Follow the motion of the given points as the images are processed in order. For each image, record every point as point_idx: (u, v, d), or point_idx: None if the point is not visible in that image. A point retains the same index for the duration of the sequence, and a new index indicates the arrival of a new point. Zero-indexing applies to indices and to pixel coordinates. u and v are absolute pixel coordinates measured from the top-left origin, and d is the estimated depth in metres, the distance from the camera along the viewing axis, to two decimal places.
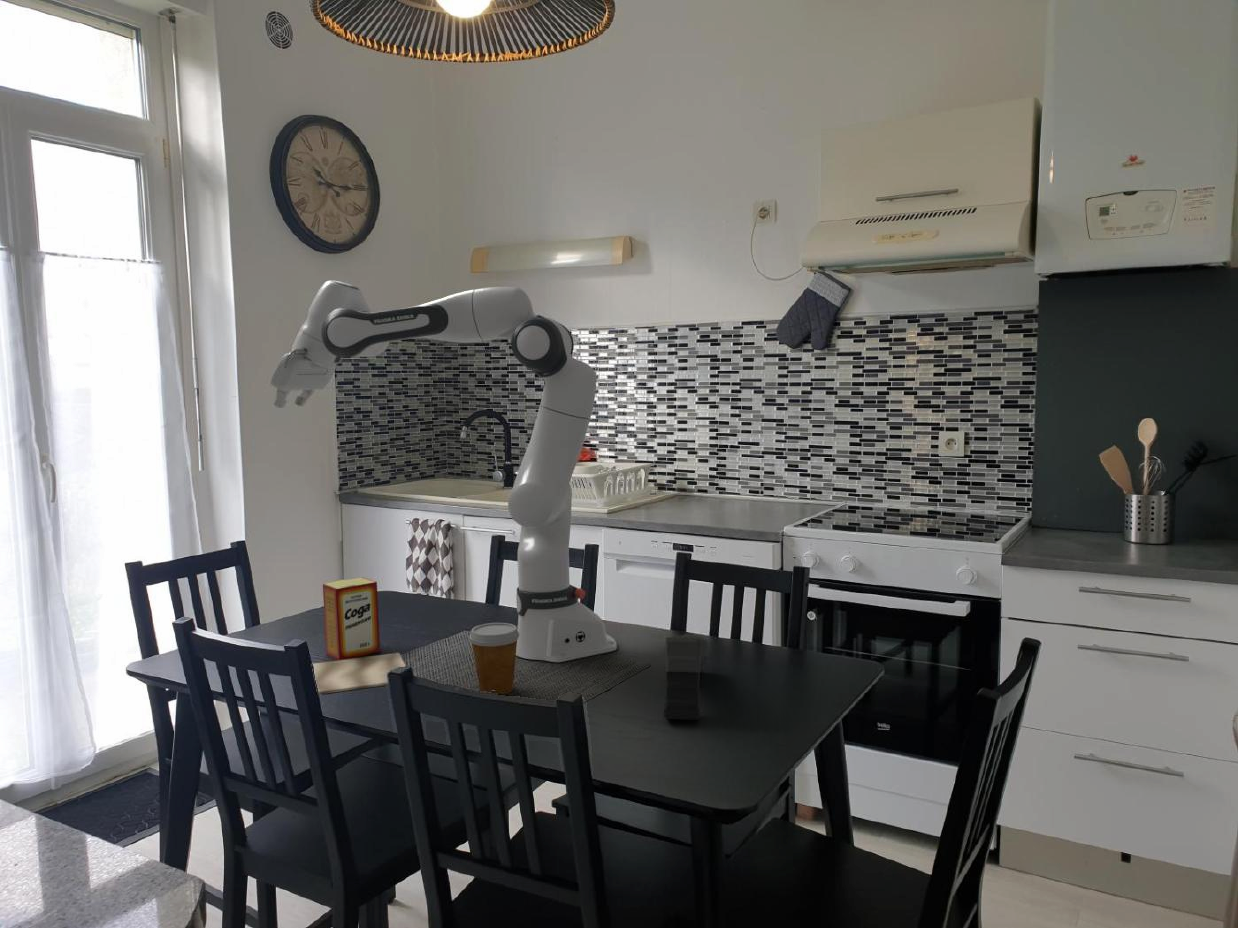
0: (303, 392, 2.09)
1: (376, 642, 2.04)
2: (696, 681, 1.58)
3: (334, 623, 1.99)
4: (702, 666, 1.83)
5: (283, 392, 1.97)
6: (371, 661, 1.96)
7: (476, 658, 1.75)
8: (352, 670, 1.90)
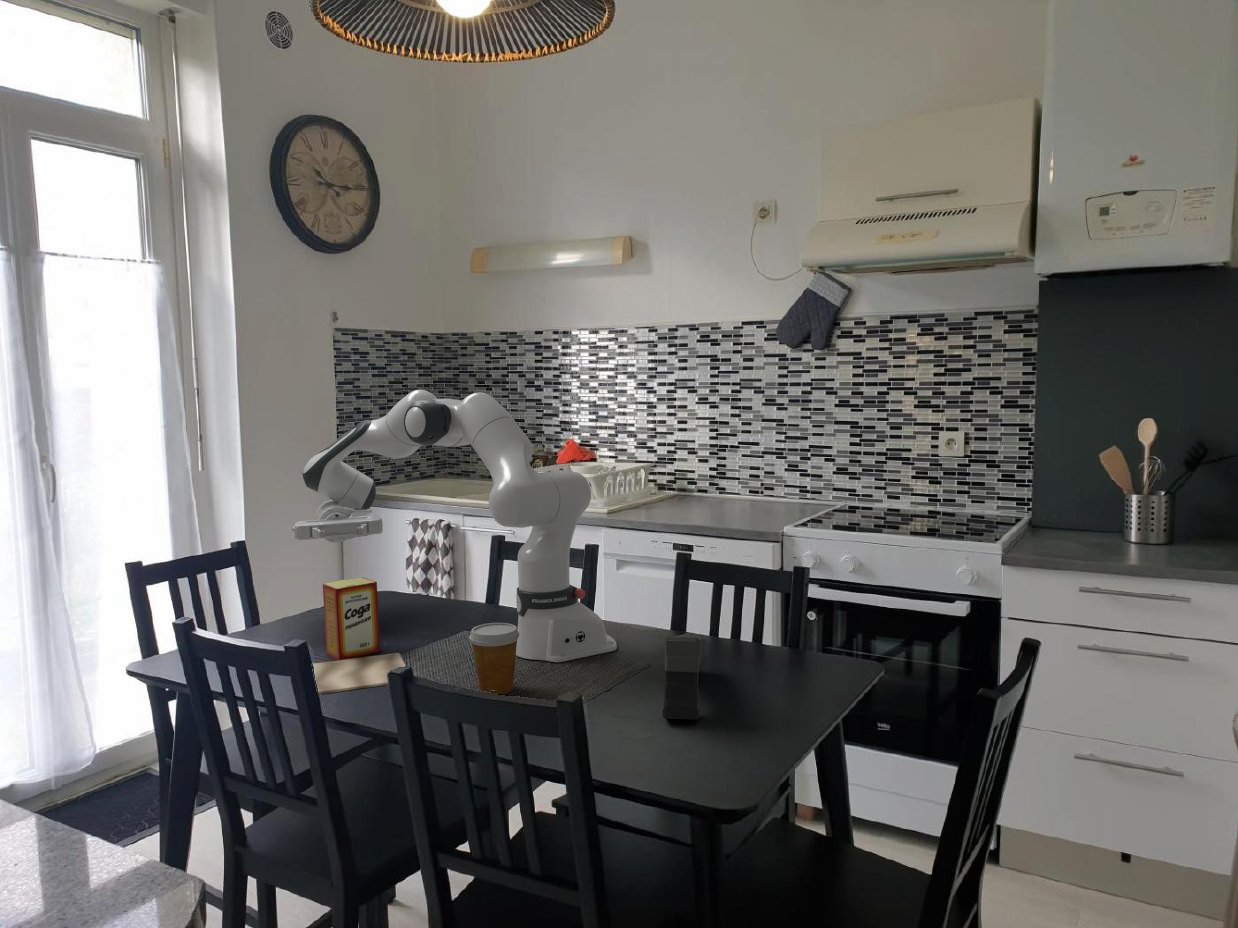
0: None
1: (376, 642, 2.04)
2: (695, 681, 1.58)
3: (334, 623, 1.99)
4: (702, 666, 1.83)
5: (312, 530, 2.17)
6: (371, 661, 1.96)
7: (476, 658, 1.75)
8: (352, 670, 1.90)
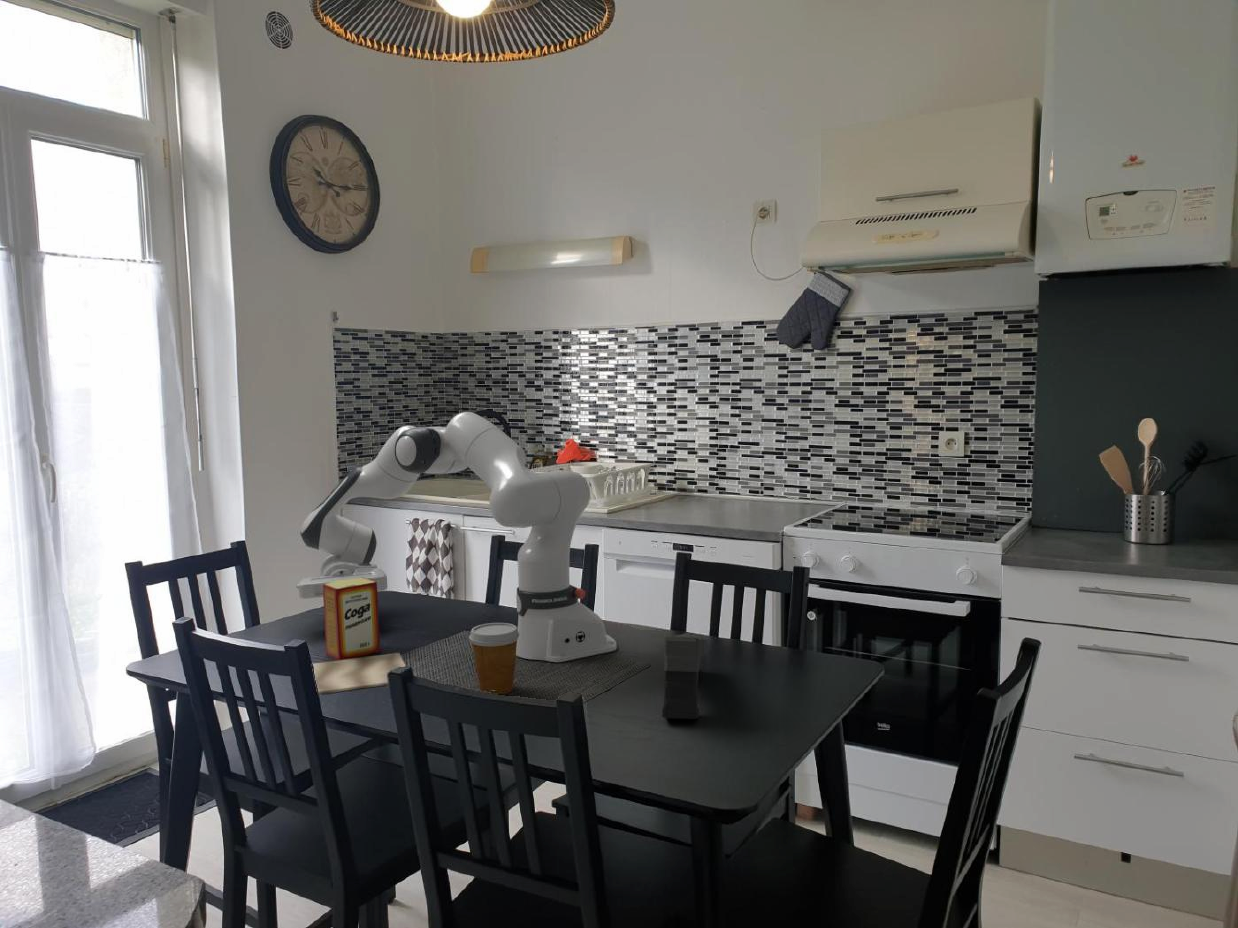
0: None
1: (376, 642, 2.04)
2: (694, 680, 1.59)
3: (334, 623, 1.99)
4: (702, 666, 1.83)
5: None
6: (371, 661, 1.96)
7: (476, 658, 1.75)
8: (352, 670, 1.90)
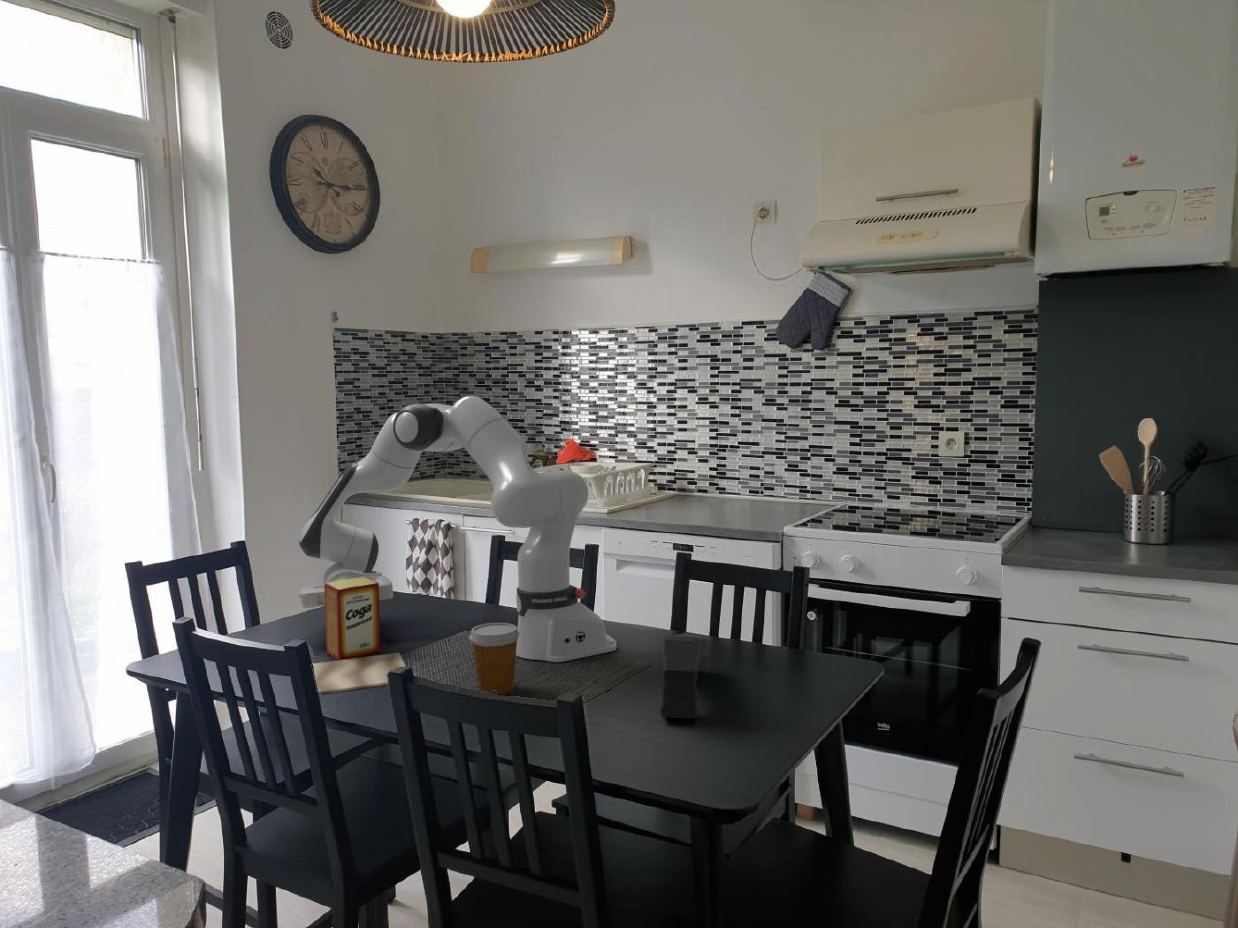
0: None
1: (376, 643, 2.04)
2: (693, 680, 1.59)
3: (335, 623, 1.98)
4: (702, 665, 1.83)
5: None
6: (371, 661, 1.96)
7: (476, 658, 1.75)
8: (352, 670, 1.90)
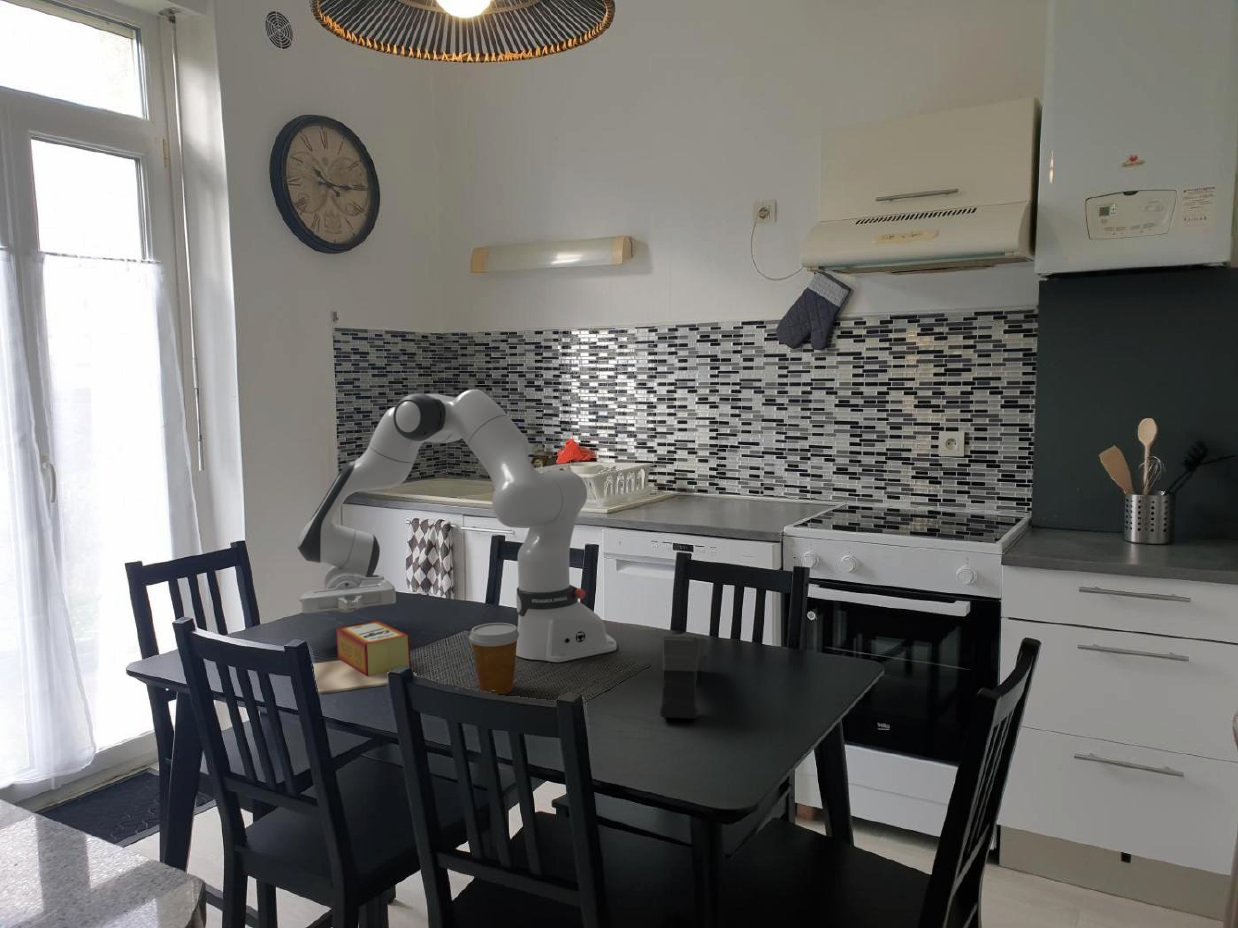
0: None
1: None
2: (693, 680, 1.59)
3: (351, 659, 1.92)
4: (702, 665, 1.83)
5: (338, 600, 2.04)
6: None
7: (476, 658, 1.75)
8: (352, 670, 1.90)
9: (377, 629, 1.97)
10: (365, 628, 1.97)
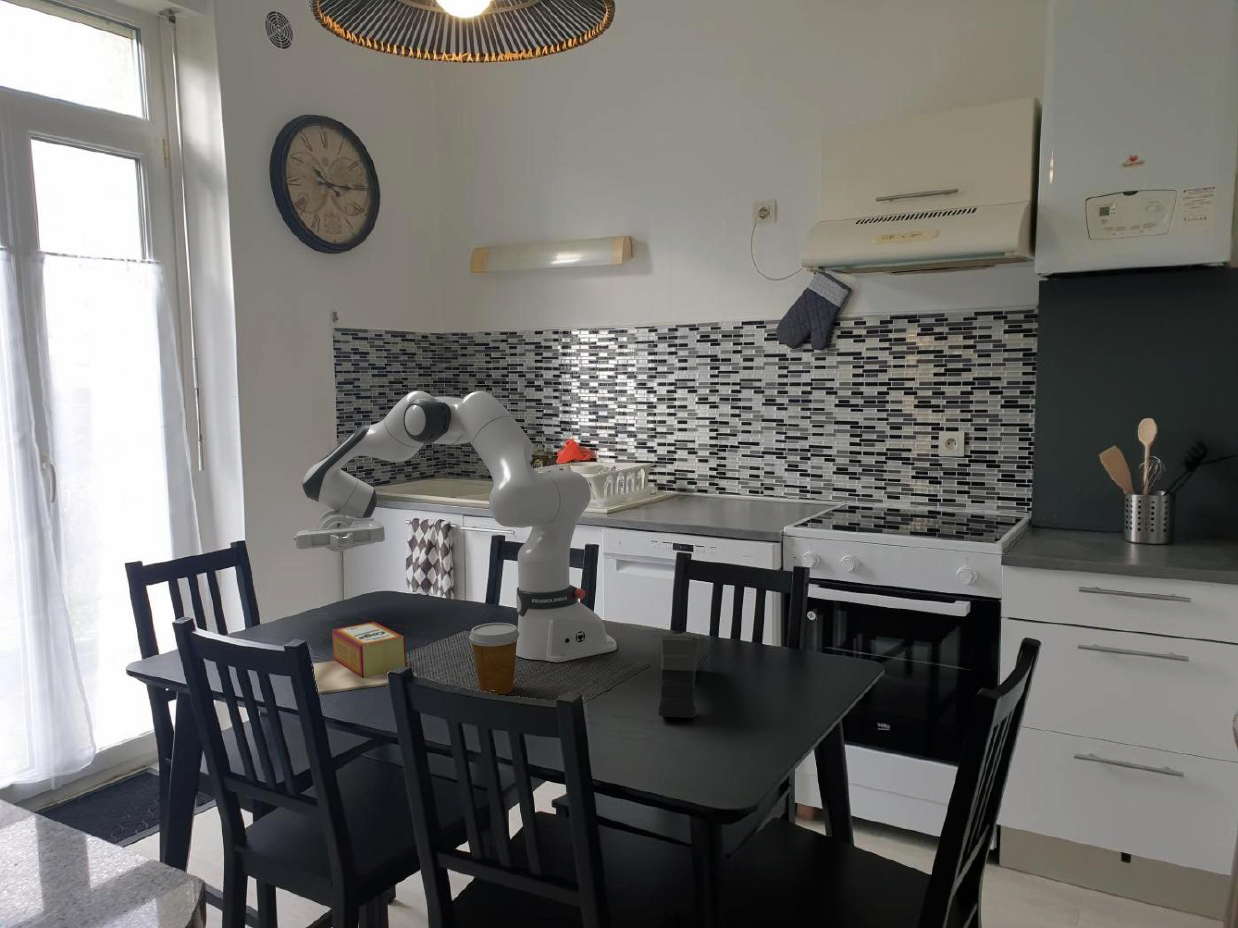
0: None
1: None
2: (691, 679, 1.59)
3: (347, 661, 1.91)
4: (702, 665, 1.83)
5: (330, 537, 2.16)
6: None
7: (476, 658, 1.75)
8: None
9: (373, 630, 1.96)
10: (361, 629, 1.97)
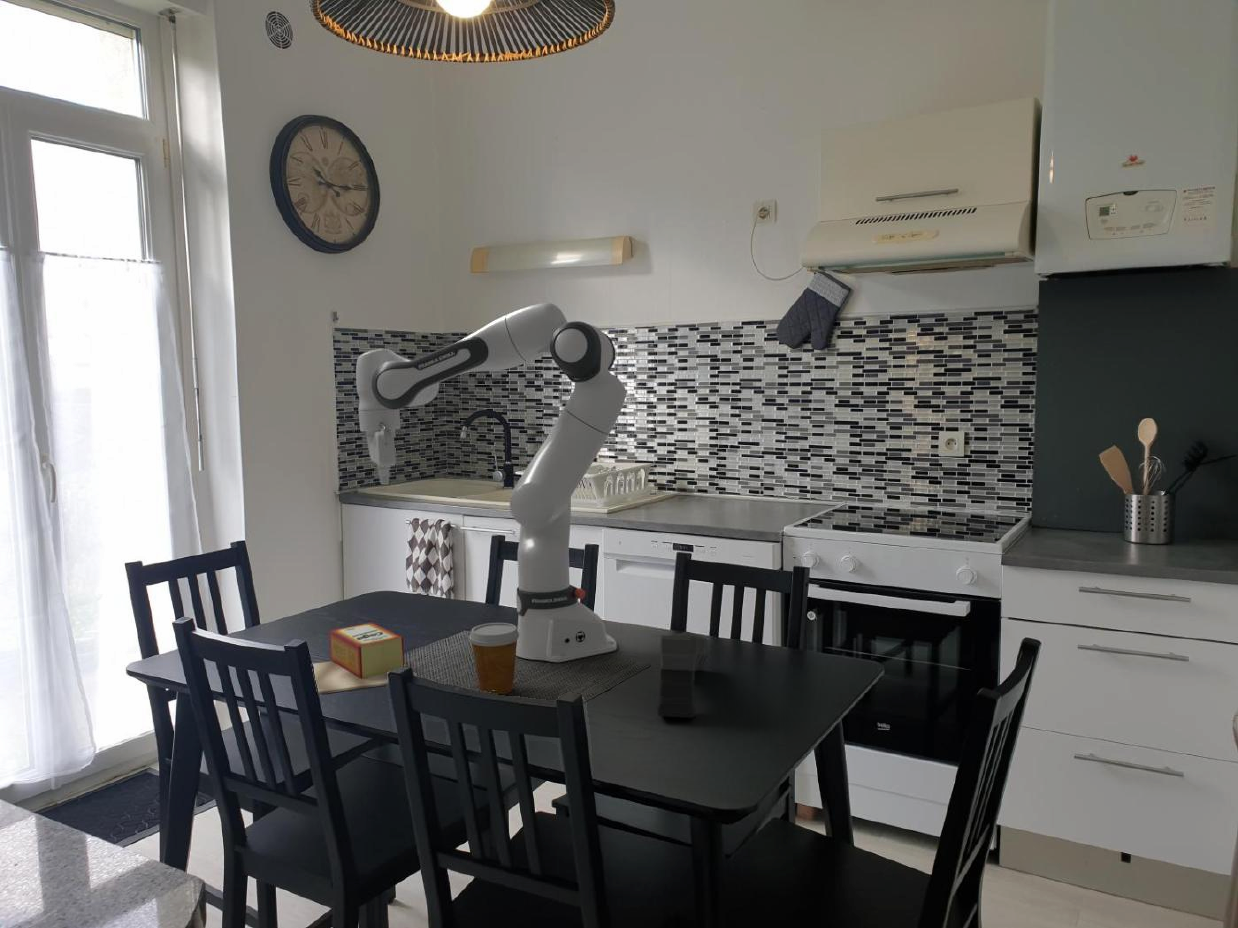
0: (380, 471, 2.09)
1: None
2: (690, 679, 1.59)
3: (344, 662, 1.91)
4: (702, 665, 1.84)
5: (386, 467, 2.06)
6: None
7: (476, 658, 1.75)
8: None
9: (371, 631, 1.95)
10: (358, 630, 1.96)
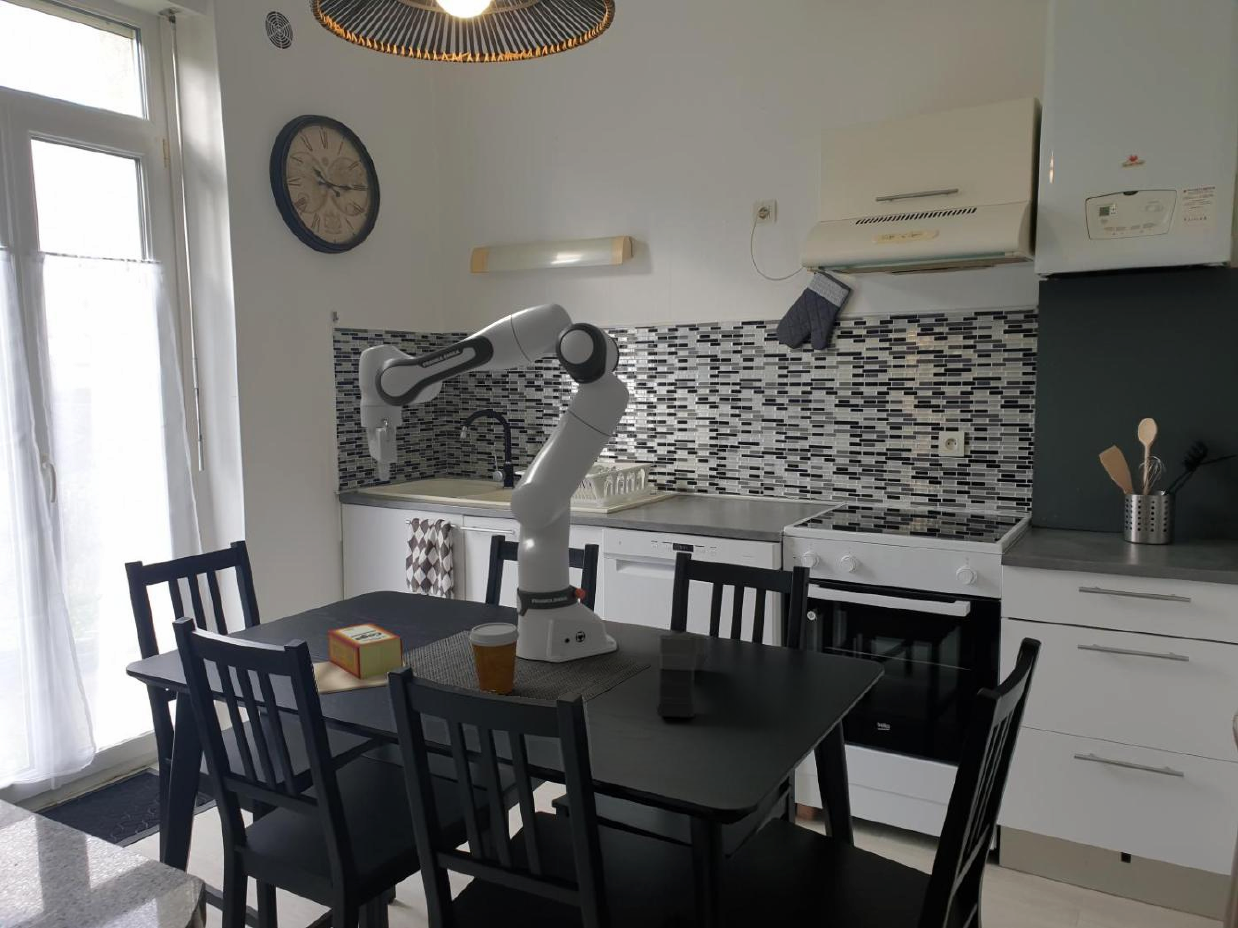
0: (380, 467, 2.09)
1: None
2: (689, 679, 1.59)
3: (343, 662, 1.90)
4: (702, 664, 1.84)
5: (387, 464, 2.06)
6: None
7: (476, 658, 1.75)
8: None
9: (369, 631, 1.95)
10: (357, 630, 1.96)
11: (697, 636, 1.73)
